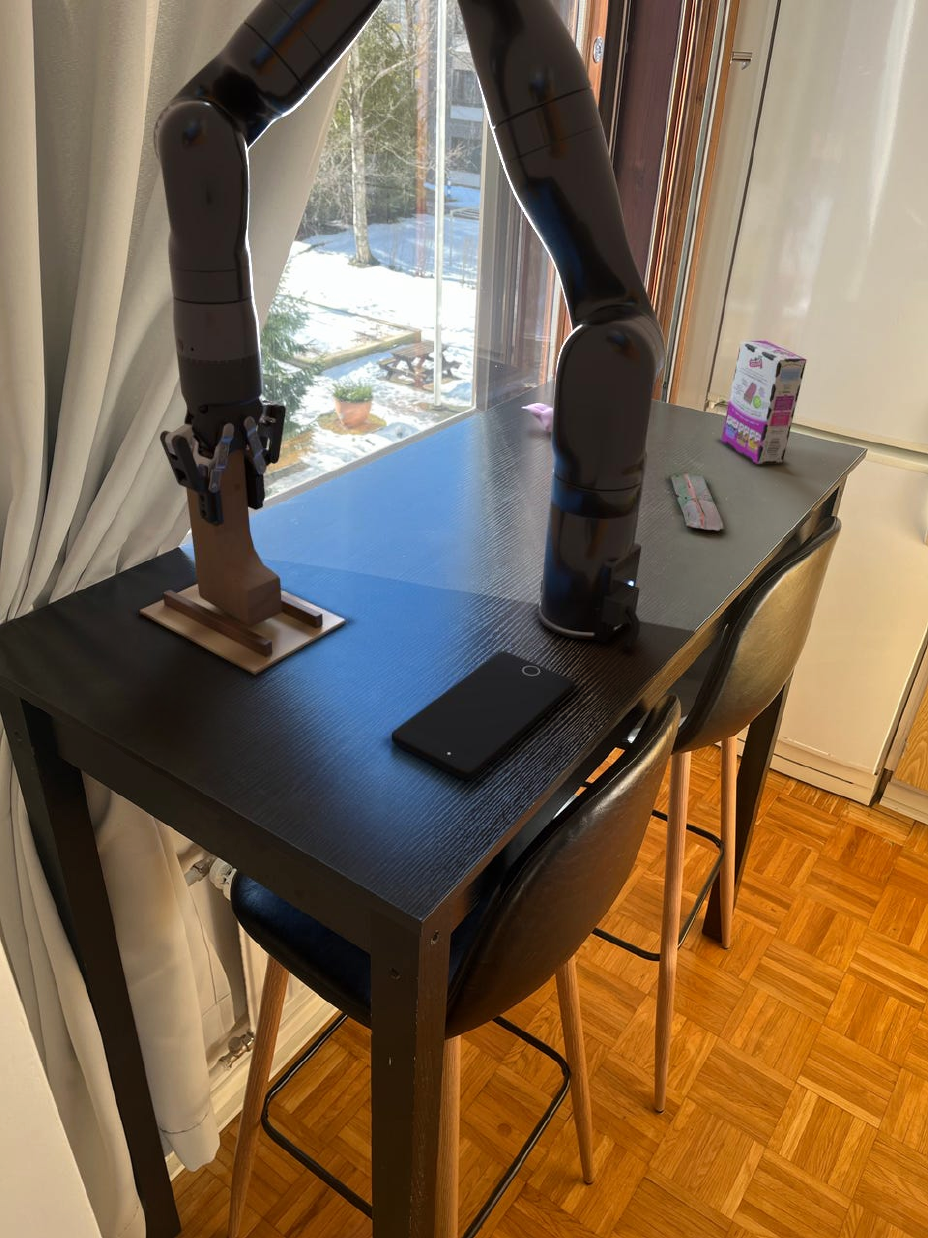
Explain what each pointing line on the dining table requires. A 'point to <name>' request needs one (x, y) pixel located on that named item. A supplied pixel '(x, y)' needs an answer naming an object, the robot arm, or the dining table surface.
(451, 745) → the cell phone
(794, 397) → the candy bar box
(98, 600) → the dining table surface
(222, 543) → the wooden block
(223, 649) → the guide
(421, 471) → the dining table surface
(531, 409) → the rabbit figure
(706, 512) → the map
